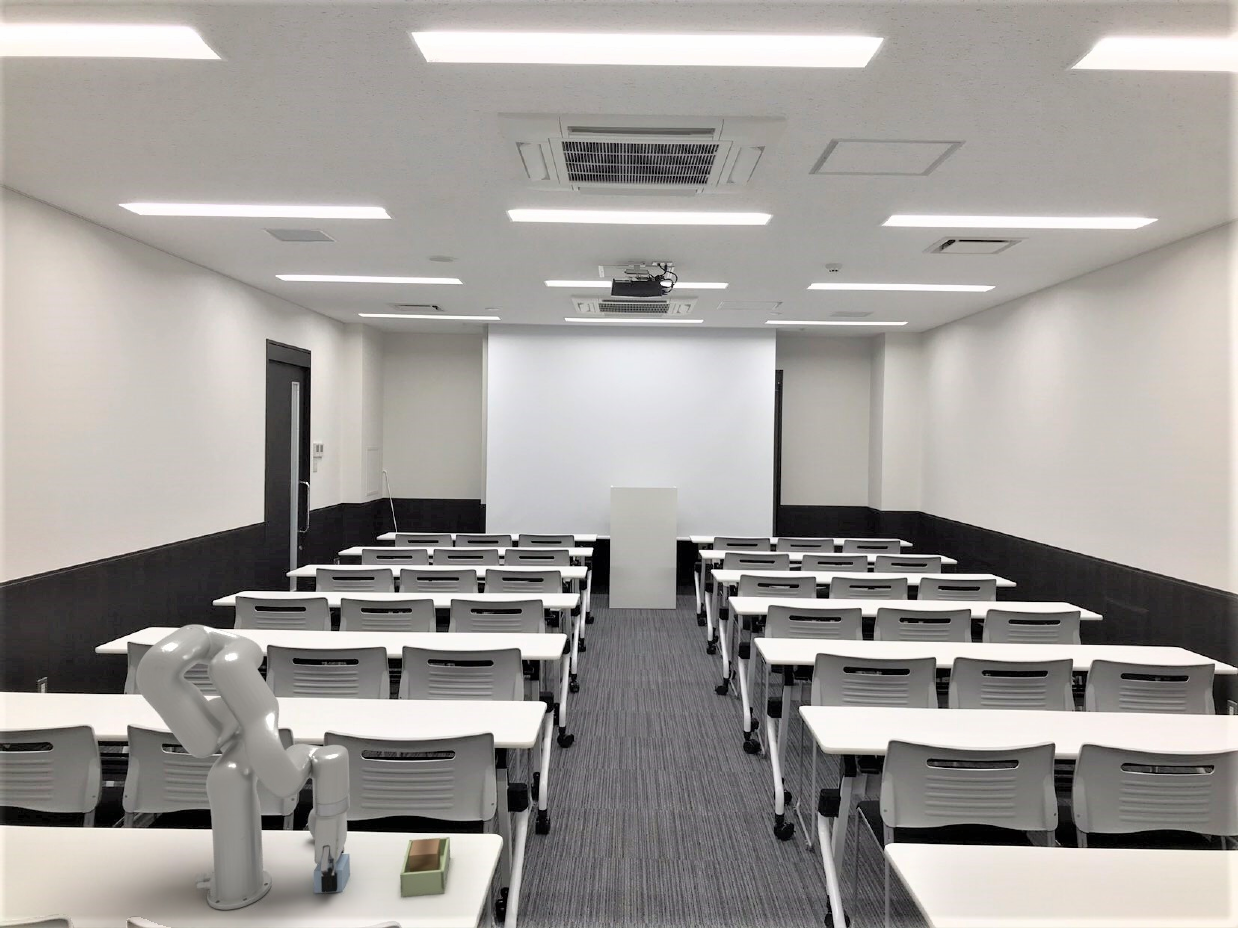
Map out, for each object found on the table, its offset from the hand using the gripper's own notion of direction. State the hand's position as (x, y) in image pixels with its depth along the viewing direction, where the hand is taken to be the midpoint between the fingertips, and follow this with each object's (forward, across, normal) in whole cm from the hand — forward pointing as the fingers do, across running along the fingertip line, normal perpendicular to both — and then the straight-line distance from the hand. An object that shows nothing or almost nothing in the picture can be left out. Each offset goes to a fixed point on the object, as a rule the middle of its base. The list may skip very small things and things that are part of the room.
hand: (333, 880), depth 166 cm
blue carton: (+1, 0, 0) cm, 1 cm away
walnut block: (0, 0, +20) cm, 20 cm away
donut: (+1, -16, -6) cm, 17 cm away
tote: (+1, 0, +20) cm, 20 cm away
